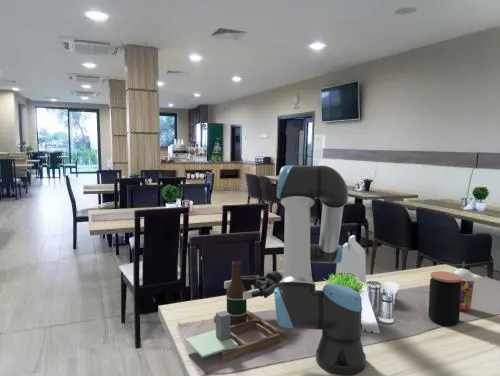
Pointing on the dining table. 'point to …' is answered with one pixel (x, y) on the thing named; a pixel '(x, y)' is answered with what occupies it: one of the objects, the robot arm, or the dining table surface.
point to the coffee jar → (444, 298)
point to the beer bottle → (236, 296)
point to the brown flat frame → (244, 349)
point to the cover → (214, 337)
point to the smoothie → (465, 288)
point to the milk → (353, 260)
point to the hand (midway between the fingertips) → (233, 290)
